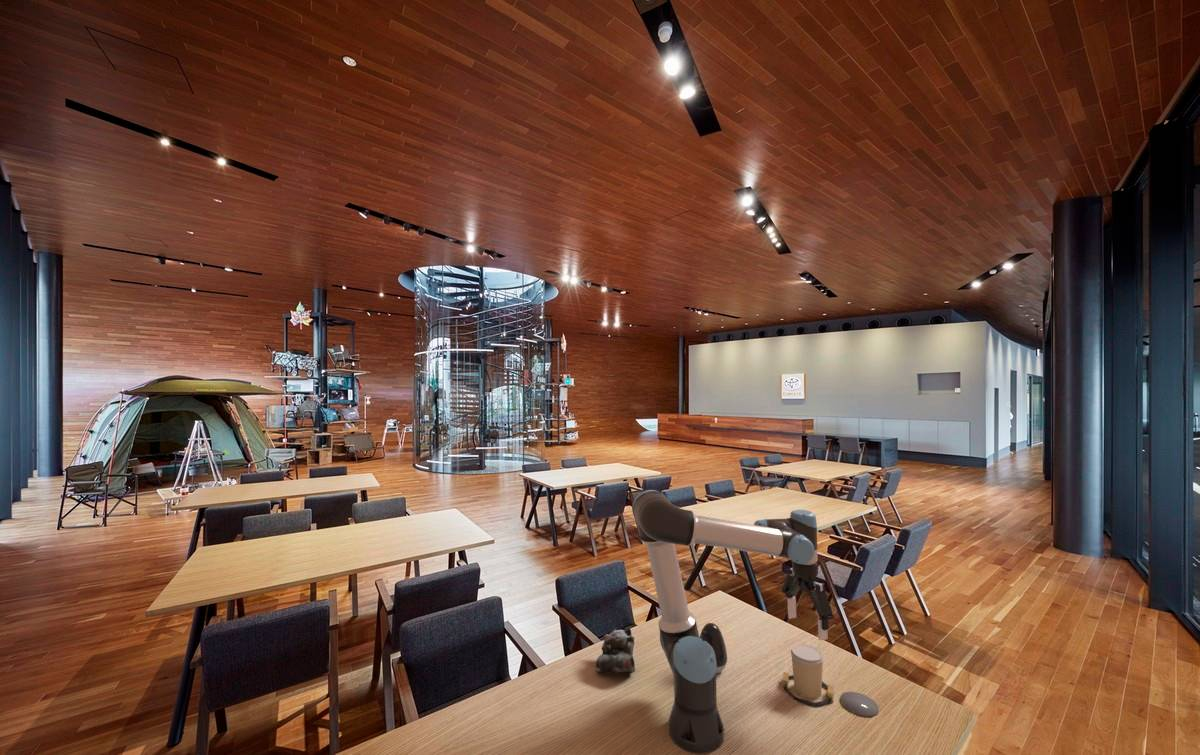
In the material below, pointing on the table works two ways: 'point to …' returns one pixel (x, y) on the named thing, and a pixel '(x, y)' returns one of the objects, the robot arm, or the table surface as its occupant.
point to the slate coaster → (859, 704)
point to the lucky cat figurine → (617, 652)
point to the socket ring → (830, 699)
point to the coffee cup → (807, 670)
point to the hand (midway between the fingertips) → (806, 628)
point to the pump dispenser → (715, 644)
